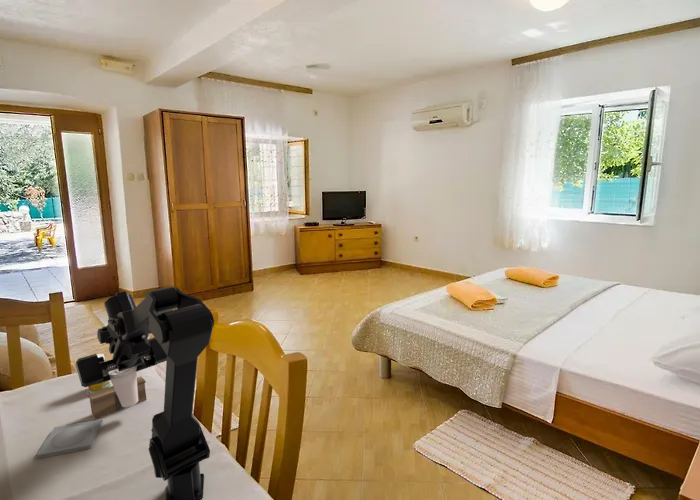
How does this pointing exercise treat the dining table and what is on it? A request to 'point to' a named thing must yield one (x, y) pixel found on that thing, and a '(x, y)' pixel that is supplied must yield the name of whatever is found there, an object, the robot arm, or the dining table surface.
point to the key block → (112, 399)
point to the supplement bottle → (101, 385)
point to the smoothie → (125, 386)
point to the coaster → (70, 438)
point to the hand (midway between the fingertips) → (121, 374)
